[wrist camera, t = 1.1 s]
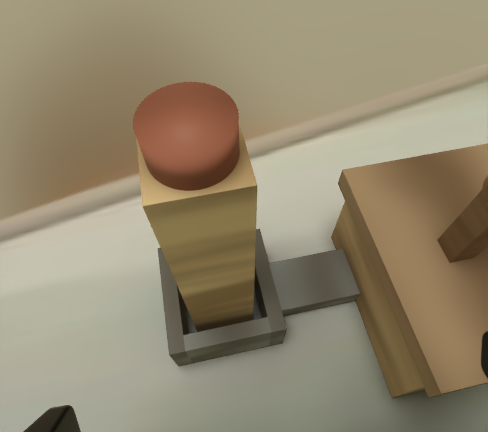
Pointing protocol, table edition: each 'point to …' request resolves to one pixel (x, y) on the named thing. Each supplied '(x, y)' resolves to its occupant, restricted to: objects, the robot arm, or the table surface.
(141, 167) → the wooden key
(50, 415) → the robot arm
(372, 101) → the table surface
